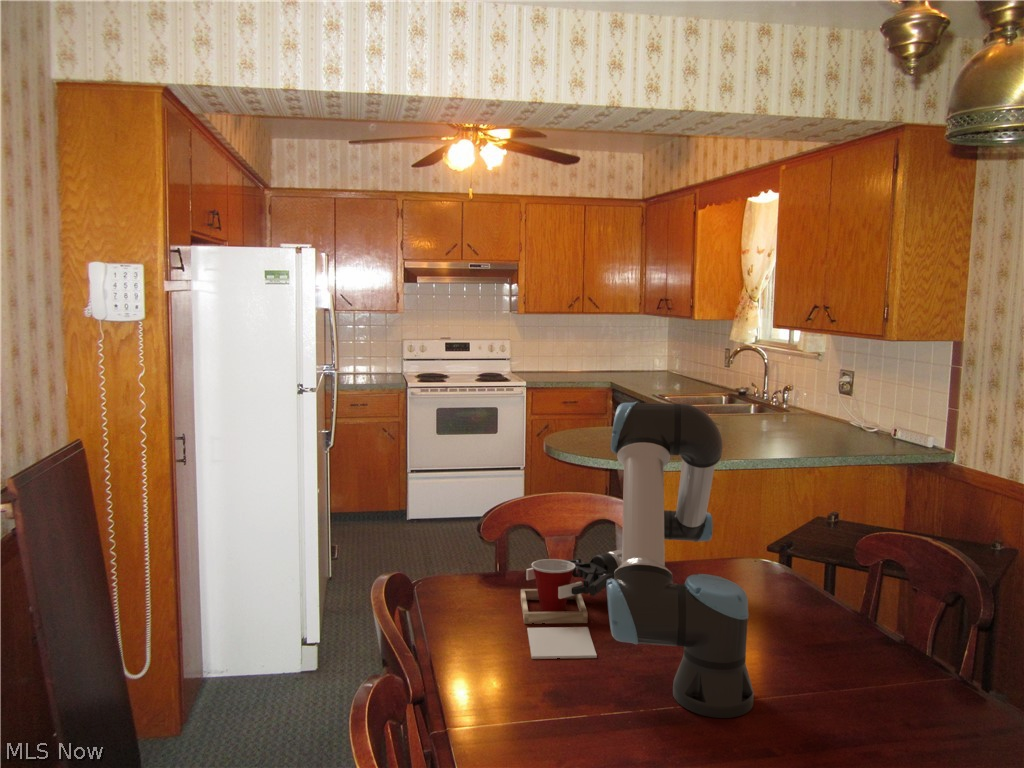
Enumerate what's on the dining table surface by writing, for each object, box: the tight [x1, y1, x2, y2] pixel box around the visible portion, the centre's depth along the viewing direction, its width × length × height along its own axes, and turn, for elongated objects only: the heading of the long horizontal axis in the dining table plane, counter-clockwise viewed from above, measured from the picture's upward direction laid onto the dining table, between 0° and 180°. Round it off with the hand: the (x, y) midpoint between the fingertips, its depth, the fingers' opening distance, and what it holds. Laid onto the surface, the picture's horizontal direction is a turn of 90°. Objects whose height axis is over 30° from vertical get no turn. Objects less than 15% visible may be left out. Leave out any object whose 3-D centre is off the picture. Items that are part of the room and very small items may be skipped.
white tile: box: [526, 626, 598, 660], centre depth 174 cm, size 14×14×1 cm
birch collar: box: [520, 588, 589, 625], centre depth 192 cm, size 15×15×2 cm
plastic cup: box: [530, 558, 576, 612], centre depth 191 cm, size 11×11×12 cm
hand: (542, 583), depth 189 cm, fingers open, 13 cm apart
